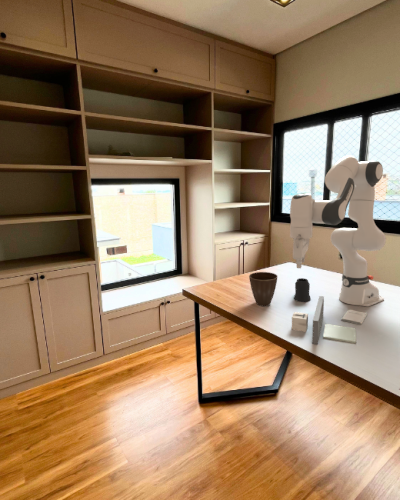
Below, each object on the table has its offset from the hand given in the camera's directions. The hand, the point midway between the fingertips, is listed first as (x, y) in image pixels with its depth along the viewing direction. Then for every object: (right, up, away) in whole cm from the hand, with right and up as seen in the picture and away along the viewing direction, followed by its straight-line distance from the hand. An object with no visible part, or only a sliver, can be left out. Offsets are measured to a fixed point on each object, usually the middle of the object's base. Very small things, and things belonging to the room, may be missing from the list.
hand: (300, 265), depth 124 cm
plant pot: (-8, -23, +35) cm, 43 cm away
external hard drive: (+30, -26, +13) cm, 41 cm away
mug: (+14, -21, +40) cm, 47 cm away
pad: (+16, -29, -1) cm, 33 cm away
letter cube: (+2, -29, +6) cm, 29 cm away
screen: (+9, -28, +4) cm, 30 cm away
